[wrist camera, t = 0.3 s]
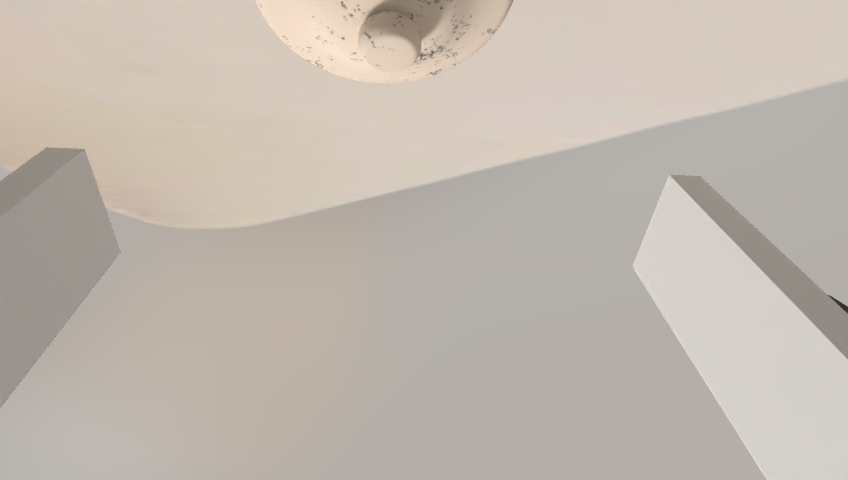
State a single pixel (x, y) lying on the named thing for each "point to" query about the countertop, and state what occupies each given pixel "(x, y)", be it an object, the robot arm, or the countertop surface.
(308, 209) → the countertop surface
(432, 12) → the teacup with lid
